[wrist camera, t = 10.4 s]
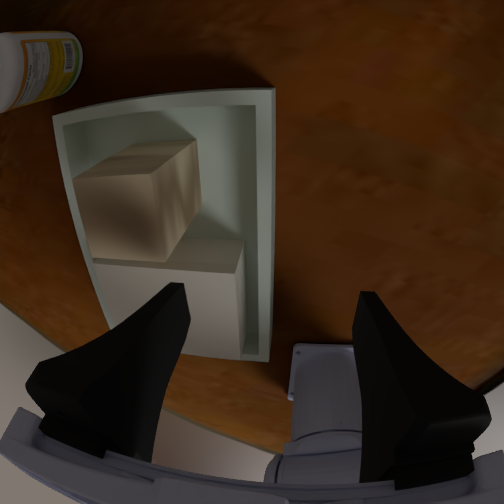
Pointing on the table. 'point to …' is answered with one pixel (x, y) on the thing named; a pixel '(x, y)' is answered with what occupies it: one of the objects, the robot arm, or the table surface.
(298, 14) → the table surface
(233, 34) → the table surface
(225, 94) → the pale green tray
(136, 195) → the maple block
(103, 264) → the light gray block
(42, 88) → the supplement bottle
